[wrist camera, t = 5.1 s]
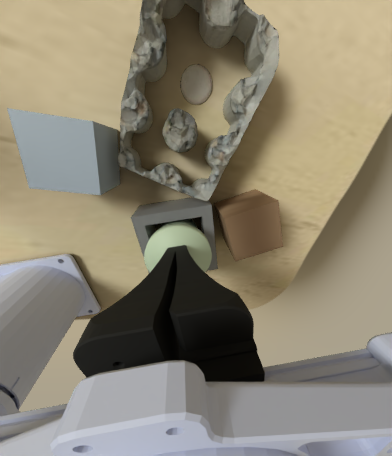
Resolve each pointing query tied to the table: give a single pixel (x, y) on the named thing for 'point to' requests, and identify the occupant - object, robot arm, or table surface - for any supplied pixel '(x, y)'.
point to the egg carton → (196, 86)
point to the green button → (178, 243)
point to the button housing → (173, 212)
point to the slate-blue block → (66, 153)
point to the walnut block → (250, 224)
